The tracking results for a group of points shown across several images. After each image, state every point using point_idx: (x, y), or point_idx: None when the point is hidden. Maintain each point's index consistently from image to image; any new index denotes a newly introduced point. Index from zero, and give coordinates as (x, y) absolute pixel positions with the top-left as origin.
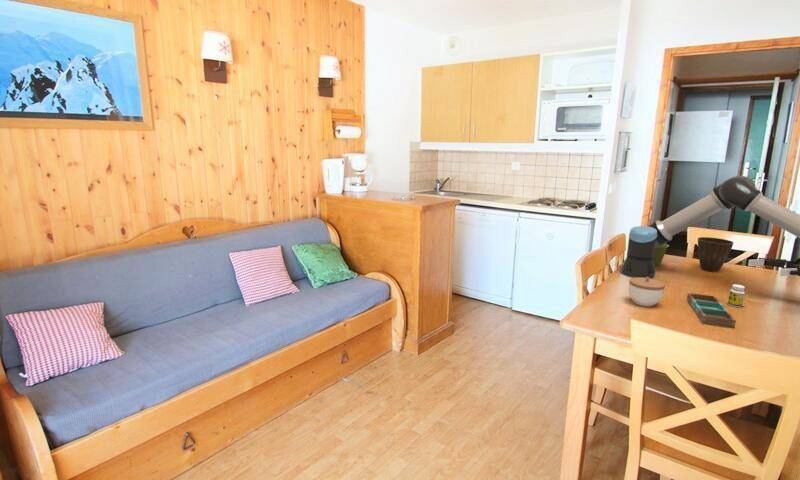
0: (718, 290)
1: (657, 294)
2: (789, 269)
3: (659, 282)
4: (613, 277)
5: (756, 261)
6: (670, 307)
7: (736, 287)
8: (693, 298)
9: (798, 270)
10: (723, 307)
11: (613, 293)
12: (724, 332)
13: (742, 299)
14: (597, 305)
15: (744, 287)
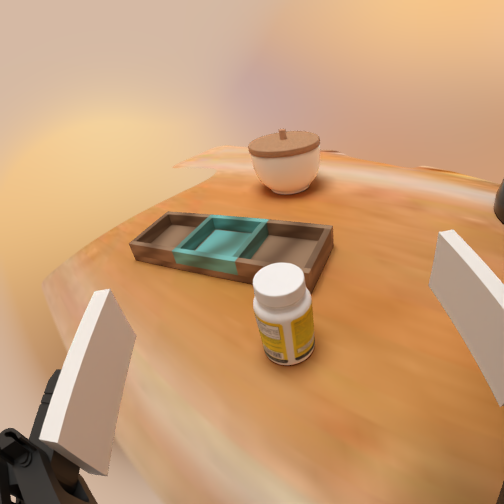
0: None
1: (252, 162)
2: (72, 348)
3: (278, 146)
4: (467, 182)
5: (473, 291)
6: (266, 209)
7: (264, 268)
8: (278, 223)
9: (42, 449)
10: (201, 253)
11: (344, 167)
12: (130, 240)
13: (259, 330)
14: None
15: (256, 290)
